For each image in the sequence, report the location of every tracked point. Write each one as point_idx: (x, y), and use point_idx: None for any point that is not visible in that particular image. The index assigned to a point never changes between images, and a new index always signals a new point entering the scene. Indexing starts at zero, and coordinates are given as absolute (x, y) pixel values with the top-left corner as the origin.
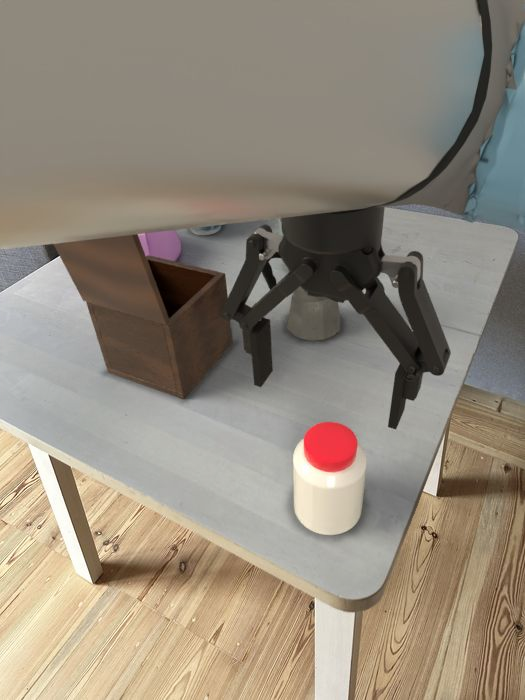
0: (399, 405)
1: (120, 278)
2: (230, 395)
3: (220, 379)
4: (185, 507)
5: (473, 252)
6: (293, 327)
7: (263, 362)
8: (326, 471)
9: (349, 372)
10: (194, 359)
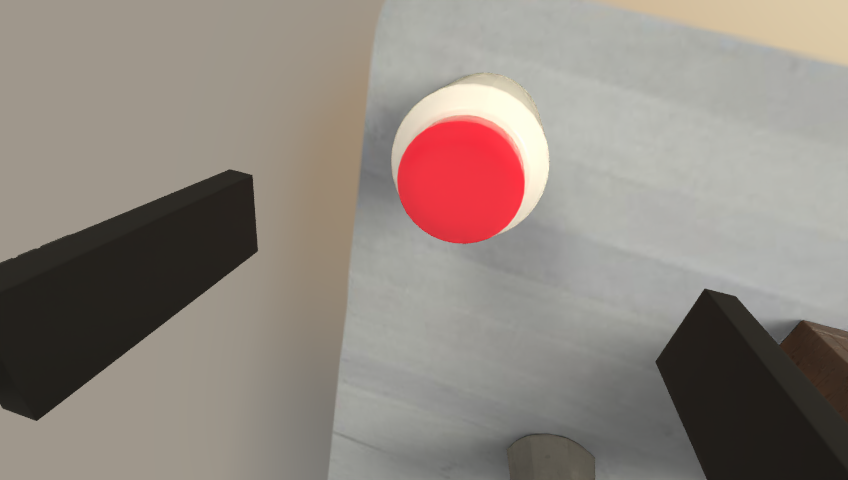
0: (141, 207)
1: None
2: None
3: None
4: (782, 59)
5: None
6: (583, 460)
7: (735, 391)
8: (460, 114)
9: (482, 379)
10: None
